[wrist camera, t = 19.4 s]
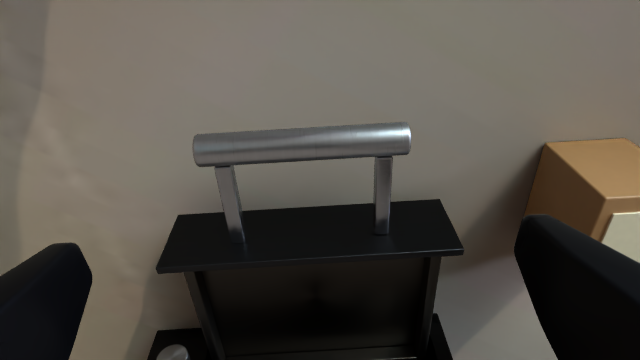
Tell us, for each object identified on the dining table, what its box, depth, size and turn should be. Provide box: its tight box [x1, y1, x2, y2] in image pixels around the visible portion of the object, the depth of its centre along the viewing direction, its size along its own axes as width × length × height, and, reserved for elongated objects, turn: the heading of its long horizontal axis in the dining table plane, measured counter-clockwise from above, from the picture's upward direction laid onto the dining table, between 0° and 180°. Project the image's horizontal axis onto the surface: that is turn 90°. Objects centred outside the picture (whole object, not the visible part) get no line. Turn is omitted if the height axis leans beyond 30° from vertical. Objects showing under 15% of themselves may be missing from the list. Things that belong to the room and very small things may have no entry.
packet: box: [524, 138, 640, 263], centre depth 21 cm, size 4×6×5 cm
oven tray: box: [156, 122, 464, 360], centre depth 22 cm, size 14×18×4 cm
